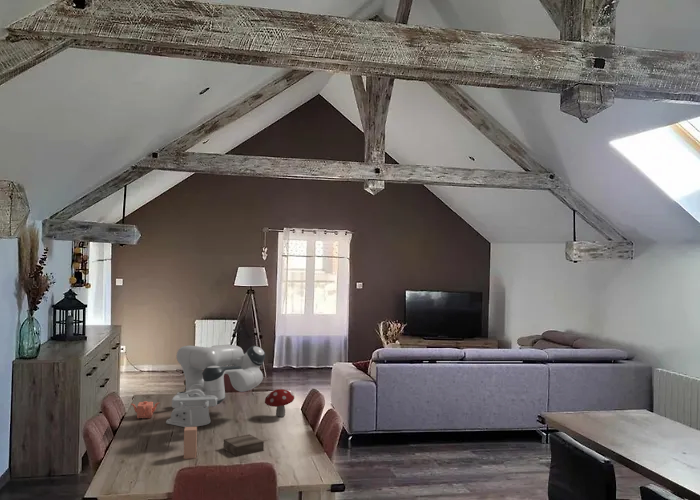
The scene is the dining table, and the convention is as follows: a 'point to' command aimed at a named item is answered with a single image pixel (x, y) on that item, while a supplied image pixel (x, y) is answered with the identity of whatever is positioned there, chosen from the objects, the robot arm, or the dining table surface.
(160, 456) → the dining table surface
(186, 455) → the terracotta block
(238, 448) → the walnut plinth
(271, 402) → the decorative mushroom
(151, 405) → the teapot
